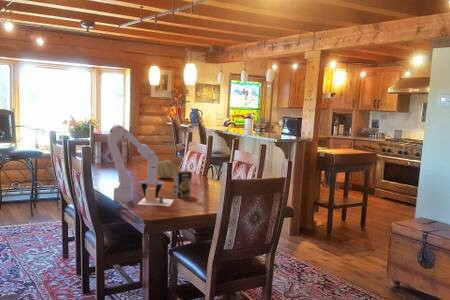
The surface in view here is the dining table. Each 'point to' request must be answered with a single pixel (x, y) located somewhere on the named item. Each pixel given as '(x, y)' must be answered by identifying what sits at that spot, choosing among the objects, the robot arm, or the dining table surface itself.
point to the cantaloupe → (165, 169)
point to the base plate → (156, 202)
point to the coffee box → (182, 183)
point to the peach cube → (150, 194)
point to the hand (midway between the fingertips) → (151, 197)
